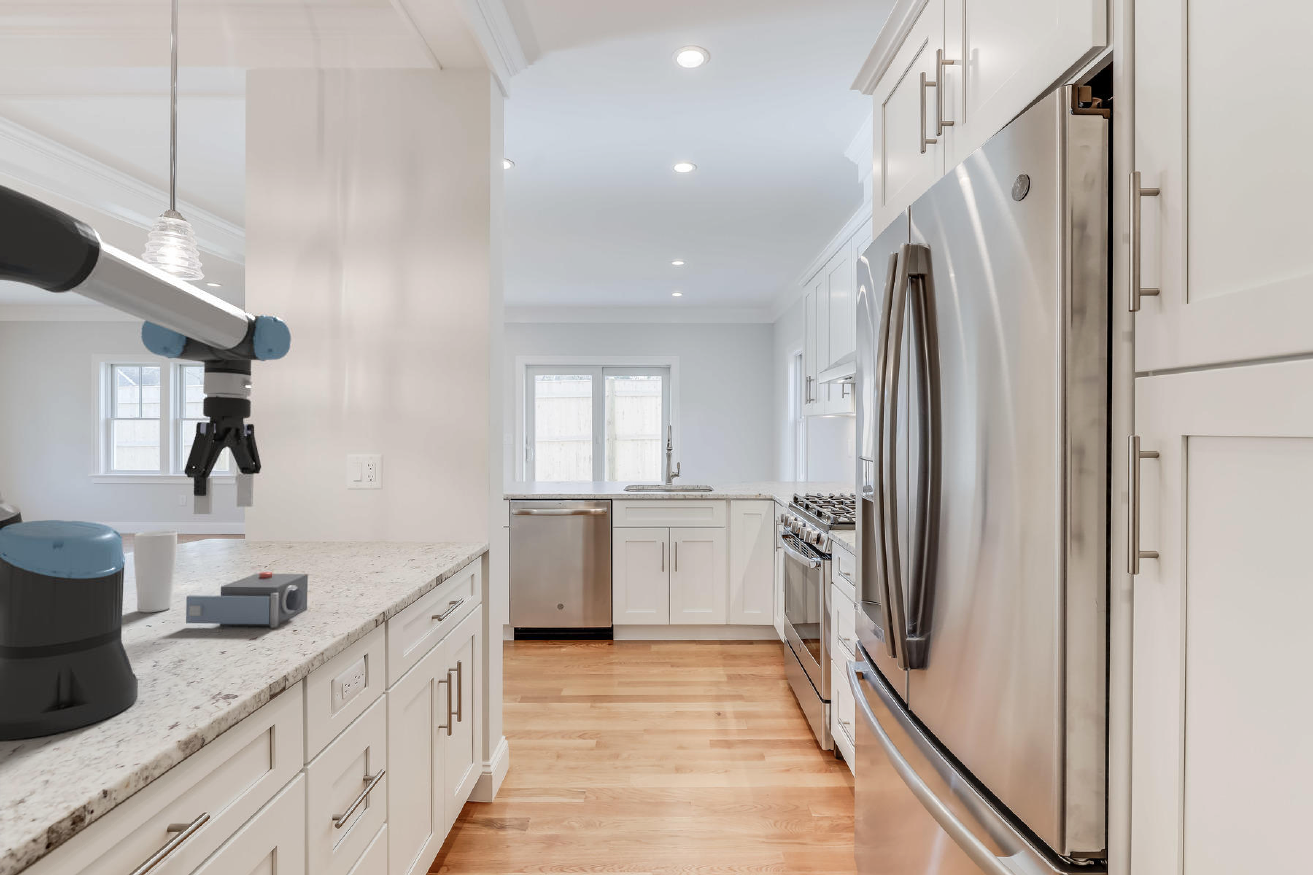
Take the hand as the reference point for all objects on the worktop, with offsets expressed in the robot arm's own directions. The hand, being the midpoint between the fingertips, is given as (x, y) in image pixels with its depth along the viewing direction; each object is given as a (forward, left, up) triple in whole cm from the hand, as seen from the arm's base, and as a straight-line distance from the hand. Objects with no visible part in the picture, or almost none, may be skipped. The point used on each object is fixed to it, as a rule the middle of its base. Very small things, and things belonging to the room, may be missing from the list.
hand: (224, 510), depth 122 cm
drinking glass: (+3, +15, -20) cm, 26 cm away
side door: (-8, -6, -20) cm, 22 cm away
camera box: (-1, -8, -20) cm, 22 cm away
